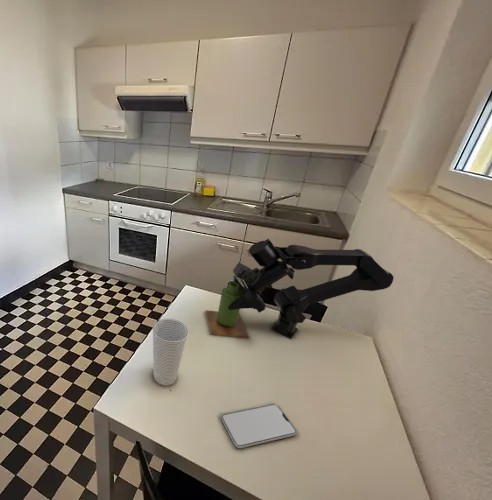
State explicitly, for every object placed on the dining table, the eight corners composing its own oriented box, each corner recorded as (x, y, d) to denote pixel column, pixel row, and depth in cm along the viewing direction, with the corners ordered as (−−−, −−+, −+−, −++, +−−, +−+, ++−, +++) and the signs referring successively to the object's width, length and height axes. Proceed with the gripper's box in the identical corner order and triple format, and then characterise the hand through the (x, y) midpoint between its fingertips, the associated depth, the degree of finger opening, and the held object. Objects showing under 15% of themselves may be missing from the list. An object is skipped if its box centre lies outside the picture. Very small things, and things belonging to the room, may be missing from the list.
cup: (142, 372, 74) (145, 325, 68) (166, 359, 79) (171, 314, 73) (163, 396, 68) (168, 346, 62) (187, 380, 73) (195, 332, 66)
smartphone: (219, 414, 63) (276, 402, 67) (219, 416, 64) (275, 404, 67) (237, 447, 57) (298, 433, 60) (236, 449, 57) (298, 435, 61)
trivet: (238, 315, 100) (239, 313, 100) (248, 338, 89) (248, 335, 89) (205, 312, 100) (205, 310, 100) (210, 335, 89) (211, 332, 89)
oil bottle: (239, 319, 95) (247, 283, 89) (233, 329, 90) (241, 292, 84) (220, 312, 98) (227, 277, 92) (214, 321, 93) (220, 285, 88)
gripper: (244, 245, 93) (206, 272, 98) (263, 271, 76) (216, 302, 81) (263, 268, 96) (225, 293, 101) (285, 298, 79) (238, 326, 84)
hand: (226, 302), depth 91 cm, fingers closed on oil bottle, 6 cm apart
